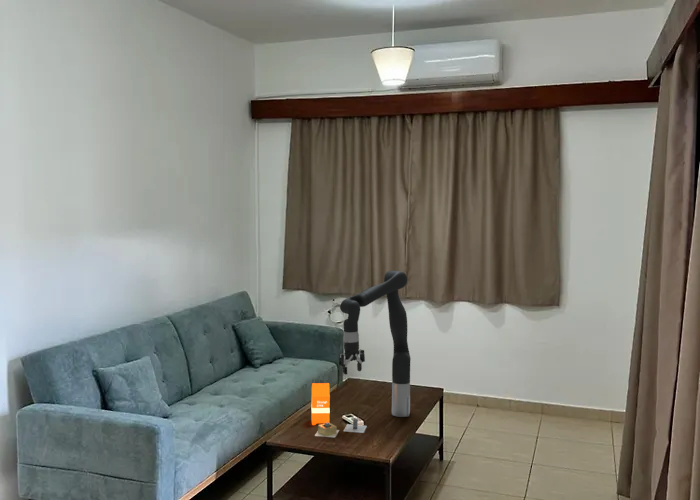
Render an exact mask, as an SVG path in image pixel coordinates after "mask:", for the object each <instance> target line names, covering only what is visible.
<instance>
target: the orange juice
mask: <svg viewBox="0 0 700 500" xmlns="http://www.w3.org/2000/svg"><path fill="white" fill-rule="evenodd" d="M330 400H331V395H330V383H329V382H324V383H322V382H318V383H316V382H315V383H314V382H312V384H311V409H310V410H311V426H316V425H317V424H325V423H326V422H328V423H330V414H331V413H330V412H331V411H330V405H331V404H330Z"/></svg>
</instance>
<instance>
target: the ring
mask: <svg viewBox="0 0 700 500" xmlns="http://www.w3.org/2000/svg"><path fill="white" fill-rule="evenodd" d="M329 423H330V422H329ZM337 428H338V427H337V425H335V424H333V423H330V427H325V423H319V424H317V431H318V432H319V433H320V434H322V435H324V436H329V435H333V434H337V430H338V429H337ZM337 435H338V434H337Z"/></svg>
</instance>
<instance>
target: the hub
mask: <svg viewBox="0 0 700 500" xmlns="http://www.w3.org/2000/svg"><path fill="white" fill-rule="evenodd" d="M324 424H325V427H330V422H329V423H328V422H326V423H324ZM339 431H340V429H337V434H333V435H329V436H324V435H322V434H320V433H319V432H318V430H317V431H316V433H315V434H314V436H315V437H323V438H336V437H337V436H338V433H339Z"/></svg>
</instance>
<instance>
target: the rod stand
mask: <svg viewBox="0 0 700 500" xmlns="http://www.w3.org/2000/svg"><path fill="white" fill-rule="evenodd" d="M358 421H359V420H358V418H353V419H352V424H349V423H346V425H345V427H344V429H343V432H349V433H360V434H361V433H362V434H364V433H365V432H366V429H367V428H368V427H367V425H364V424H363V425H362V426H358V425H359V424H358Z"/></svg>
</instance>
